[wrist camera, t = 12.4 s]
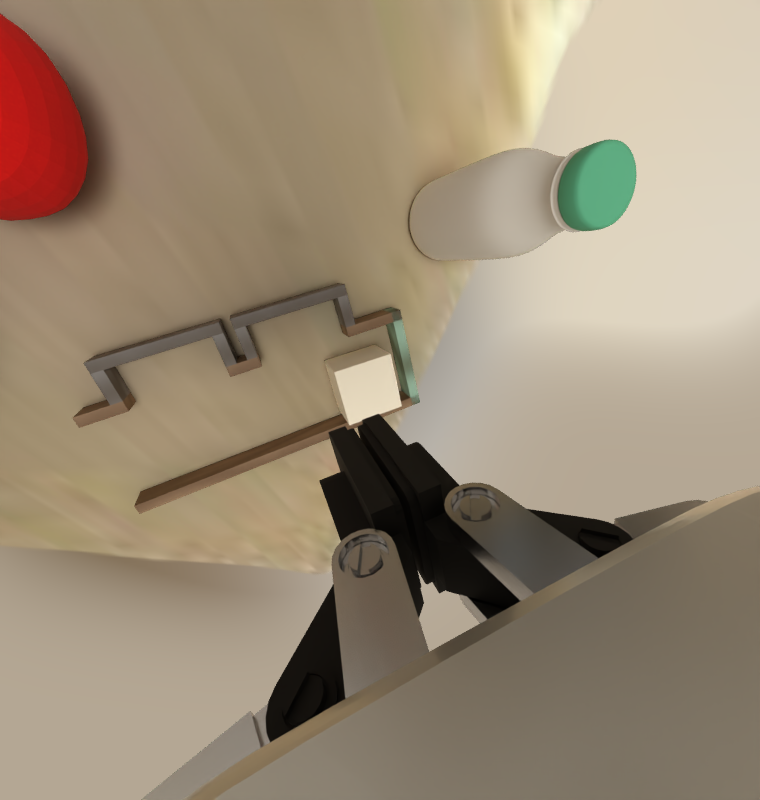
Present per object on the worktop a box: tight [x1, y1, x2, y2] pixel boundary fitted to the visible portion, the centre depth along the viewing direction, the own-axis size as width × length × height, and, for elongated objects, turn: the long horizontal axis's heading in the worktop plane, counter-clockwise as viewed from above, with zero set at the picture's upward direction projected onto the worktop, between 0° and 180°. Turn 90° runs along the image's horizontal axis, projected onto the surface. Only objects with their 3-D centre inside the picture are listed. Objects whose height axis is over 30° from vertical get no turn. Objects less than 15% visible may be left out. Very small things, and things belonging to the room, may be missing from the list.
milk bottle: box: [409, 140, 636, 261], centre depth 29 cm, size 8×8×20 cm
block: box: [324, 345, 402, 425], centre depth 39 cm, size 6×6×5 cm
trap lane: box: [73, 283, 420, 514], centre depth 36 cm, size 15×31×2 cm, turn 105°
